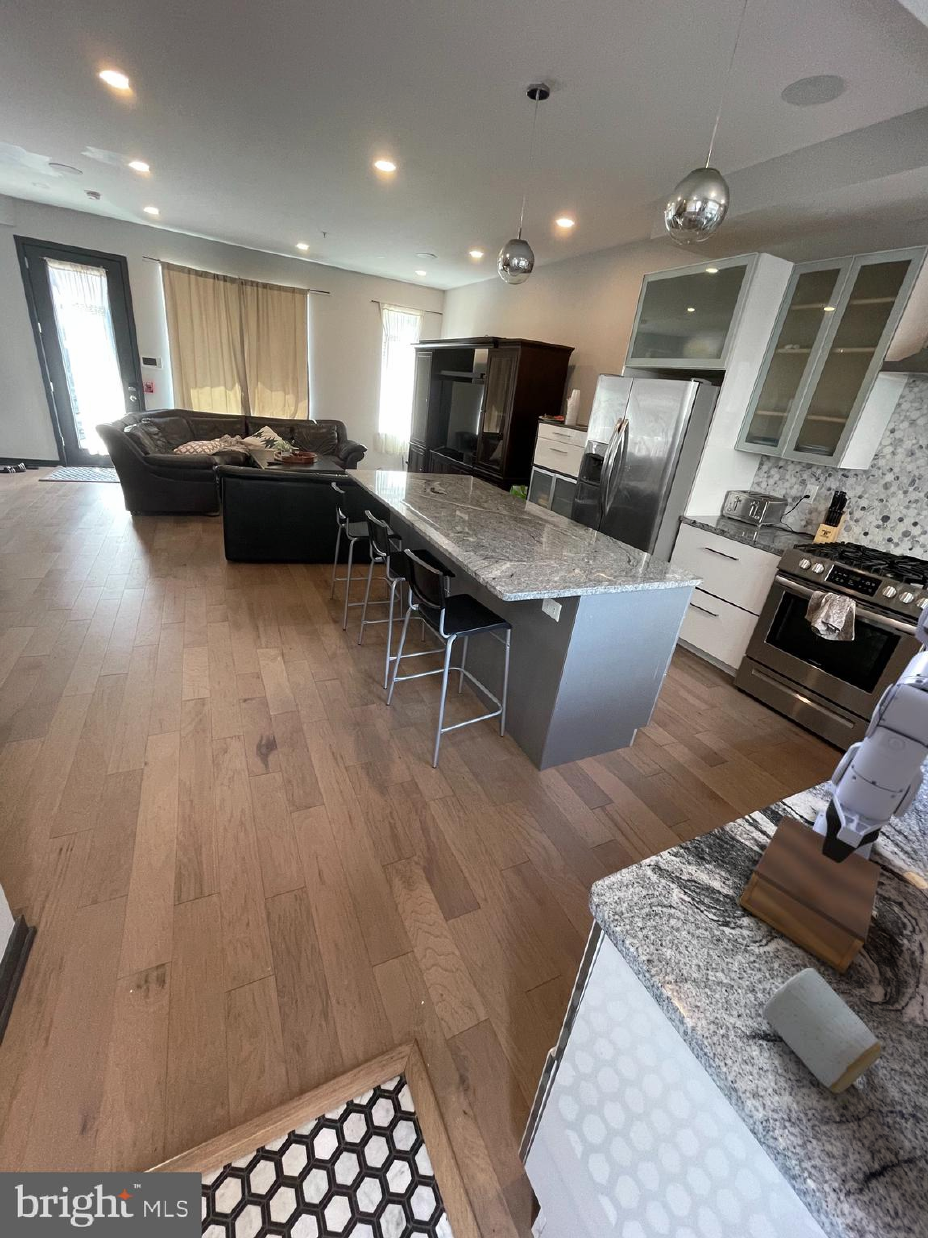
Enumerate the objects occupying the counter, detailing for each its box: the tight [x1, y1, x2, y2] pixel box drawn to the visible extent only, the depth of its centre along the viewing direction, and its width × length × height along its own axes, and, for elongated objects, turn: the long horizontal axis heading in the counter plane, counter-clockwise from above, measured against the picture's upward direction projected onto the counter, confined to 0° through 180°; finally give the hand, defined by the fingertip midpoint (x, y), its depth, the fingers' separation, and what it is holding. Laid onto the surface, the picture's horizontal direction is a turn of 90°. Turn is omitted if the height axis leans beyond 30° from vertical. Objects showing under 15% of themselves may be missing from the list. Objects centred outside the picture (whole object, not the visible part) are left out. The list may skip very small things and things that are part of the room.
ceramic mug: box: [761, 967, 883, 1094], centre depth 54 cm, size 11×8×8 cm
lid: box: [753, 813, 882, 944], centre depth 70 cm, size 16×13×1 cm
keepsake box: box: [738, 872, 865, 975], centre depth 71 cm, size 16×13×6 cm
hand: (831, 856), depth 68 cm, fingers closed
